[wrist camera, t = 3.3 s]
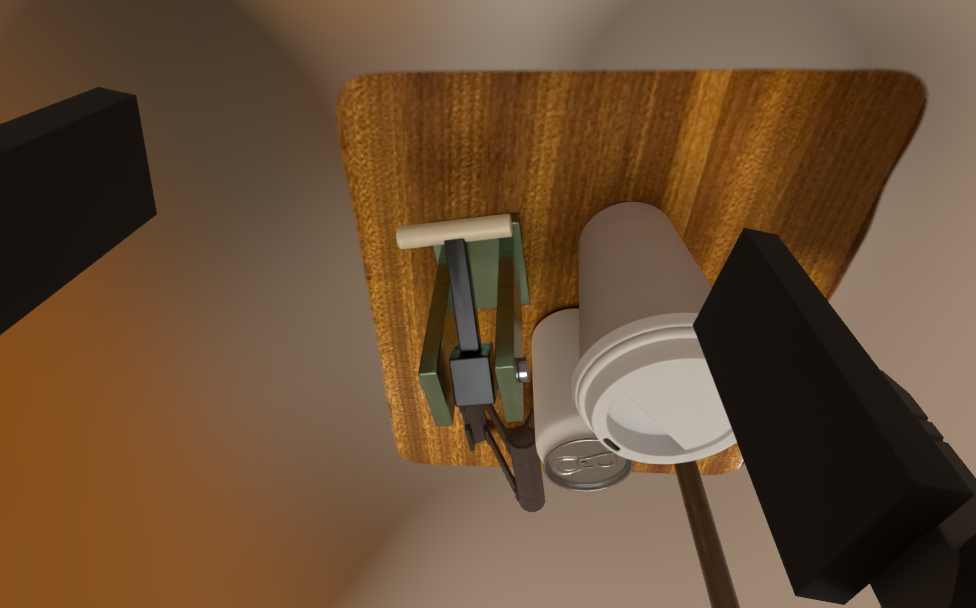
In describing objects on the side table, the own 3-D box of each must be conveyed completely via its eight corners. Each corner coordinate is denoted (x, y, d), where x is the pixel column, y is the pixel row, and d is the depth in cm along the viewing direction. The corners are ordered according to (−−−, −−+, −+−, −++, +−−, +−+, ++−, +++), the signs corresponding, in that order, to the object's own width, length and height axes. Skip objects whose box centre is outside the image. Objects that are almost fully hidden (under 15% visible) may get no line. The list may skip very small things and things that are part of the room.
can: (522, 314, 42) (524, 444, 33) (606, 297, 41) (633, 428, 32) (541, 370, 46) (549, 501, 37) (619, 356, 45) (646, 488, 35)
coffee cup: (539, 204, 36) (552, 371, 24) (689, 160, 34) (780, 323, 22) (574, 309, 42) (597, 485, 30) (704, 278, 39) (782, 456, 28)
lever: (402, 224, 30) (390, 229, 28) (511, 211, 29) (508, 215, 27) (430, 392, 32) (421, 410, 30) (531, 384, 32) (530, 401, 29)
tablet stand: (454, 367, 46) (444, 451, 40) (547, 361, 45) (552, 445, 39) (470, 432, 52) (464, 514, 45) (553, 427, 51) (559, 511, 44)
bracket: (431, 223, 37) (401, 357, 27) (518, 212, 36) (520, 346, 27) (451, 301, 42) (432, 441, 32) (529, 294, 41) (535, 434, 31)
